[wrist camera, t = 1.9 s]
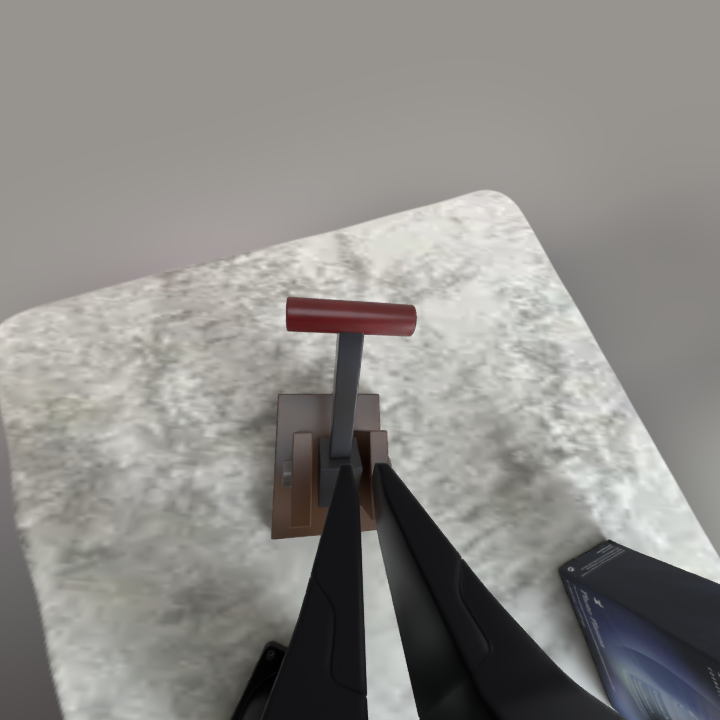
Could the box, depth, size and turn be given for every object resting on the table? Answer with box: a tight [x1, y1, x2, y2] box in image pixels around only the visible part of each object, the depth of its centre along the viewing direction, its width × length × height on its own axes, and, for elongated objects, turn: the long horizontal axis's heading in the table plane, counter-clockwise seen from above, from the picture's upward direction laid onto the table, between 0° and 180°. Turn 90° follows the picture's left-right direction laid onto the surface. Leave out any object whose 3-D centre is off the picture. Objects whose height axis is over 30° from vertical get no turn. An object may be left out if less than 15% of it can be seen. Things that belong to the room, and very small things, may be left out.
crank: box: [286, 297, 417, 508], centre depth 14 cm, size 11×6×2 cm
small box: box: [559, 540, 720, 720], centre depth 18 cm, size 11×6×10 cm, turn 18°
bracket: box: [271, 394, 392, 539], centre depth 18 cm, size 10×8×8 cm
